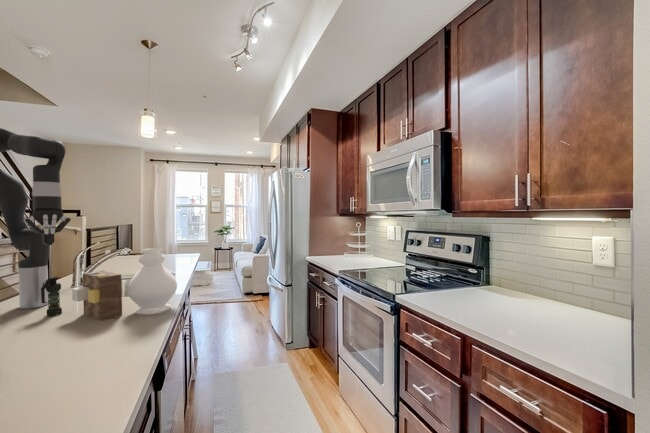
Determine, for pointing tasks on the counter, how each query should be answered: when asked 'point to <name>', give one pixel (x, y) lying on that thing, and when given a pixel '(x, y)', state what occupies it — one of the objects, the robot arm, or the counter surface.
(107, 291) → the brown wooden block
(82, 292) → the ivory button
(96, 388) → the counter surface
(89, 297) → the mustard button
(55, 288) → the grenade
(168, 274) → the decorative vase
